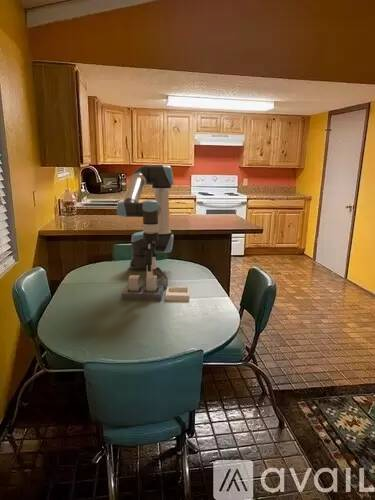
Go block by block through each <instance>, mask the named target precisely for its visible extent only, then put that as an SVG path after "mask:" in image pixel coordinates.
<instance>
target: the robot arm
mask: <svg viewBox="0 0 375 500" xmlns="http://www.w3.org/2000/svg"><path fill="white" fill-rule="evenodd" d="M129 182H130V183H129V186H128V188H127V192H126V194H125V197H124V200H123V201H119V202H118V203H117V204H116V205H117V206H116V213H117V215H118V216H119V217H124V218H127V217H128V218H129V217H130V218H131V217H132V218H142V224H141V228H142V229H143V230H142V231H138V232H135V233H133V234H132V235H131V241H130V242H131V257H130V258H131V259H130V262H129V269H130V270H132V271H135V272H144V271H146V278H147V277H150V278H152V277H153V271H152V269H156V268H157V265H156V262H157V260H156V257H158V254H157V253H163V254H164V253H165V254H166V253H171V252H172V250H173V246H174V240H175V239H174V237H175V236H174V234H173V233H172V231H171V230H170V200H169V199H170V198H169V197H170V196H169V195H170V190H171V189H172V186H174V184H175V183H174V173H173V169H172V166H171V165H165V164H162V165H161V164H159V165H158V164H157V165H156V164H153V165H151V164H149V165H148V164H145V165H142V166H140V167H138V168H136V169H135V170H134V171H133V172H132V173H131V175H130V177H129ZM147 185H148V186H151V188H152V190H154V199H153V200H152V199H147V200H143V201H141V202H140V198H141V194H142V192H143V189H144V187H145V186H147Z"/></svg>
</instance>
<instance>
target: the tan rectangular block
mask: <svg viewBox="0 0 375 500" xmlns="http://www.w3.org/2000/svg"><path fill="white" fill-rule="evenodd" d="M145 282H146V283H145V286H146V292H157V276H153V277H152V278H150V277H147V276H146V277H145Z"/></svg>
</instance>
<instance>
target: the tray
mask: <svg viewBox="0 0 375 500" xmlns="http://www.w3.org/2000/svg"><path fill="white" fill-rule="evenodd" d="M190 290H191V287H190V286H168V287H166V291H165V297H164V298H165V301H190V293H191V291H190Z"/></svg>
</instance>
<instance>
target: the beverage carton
mask: <svg viewBox="0 0 375 500" xmlns="http://www.w3.org/2000/svg"><path fill="white" fill-rule="evenodd" d="M152 271H153V276H157V286H164V289H165V288H166V289H167V287H169V284H168V283H169V280H168V279H169V278H168V277H167V275H166V274H165V273H164V271H162V269H161V268H160V267H159V266H156V269H152Z"/></svg>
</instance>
